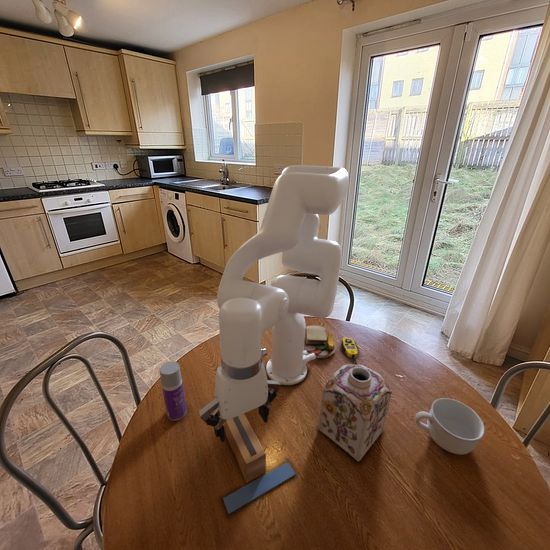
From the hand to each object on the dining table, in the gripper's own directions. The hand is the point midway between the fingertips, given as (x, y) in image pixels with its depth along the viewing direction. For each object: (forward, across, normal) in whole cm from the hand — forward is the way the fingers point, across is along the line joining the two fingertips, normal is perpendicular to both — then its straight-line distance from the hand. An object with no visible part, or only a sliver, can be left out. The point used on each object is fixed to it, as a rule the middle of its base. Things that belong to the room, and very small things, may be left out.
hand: (242, 426), depth 61 cm
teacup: (+9, -44, +18) cm, 48 cm away
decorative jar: (+9, -26, +6) cm, 28 cm away
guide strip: (+9, -1, +8) cm, 12 cm away
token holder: (+9, -1, 0) cm, 9 cm away
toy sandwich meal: (+8, -38, -24) cm, 45 cm away
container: (+9, +10, -18) cm, 23 cm away
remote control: (+8, -46, -14) cm, 49 cm away
